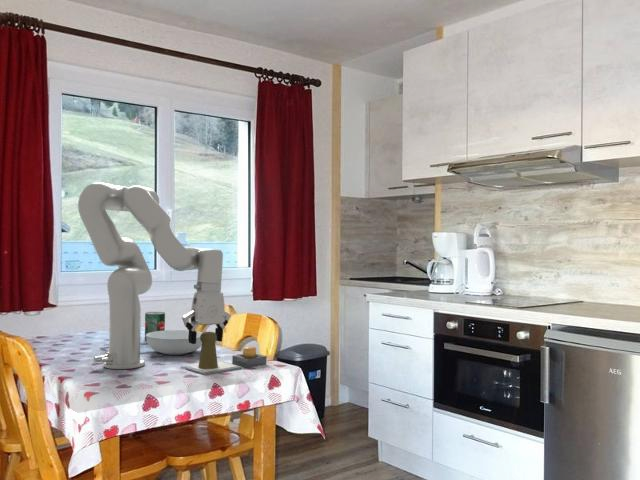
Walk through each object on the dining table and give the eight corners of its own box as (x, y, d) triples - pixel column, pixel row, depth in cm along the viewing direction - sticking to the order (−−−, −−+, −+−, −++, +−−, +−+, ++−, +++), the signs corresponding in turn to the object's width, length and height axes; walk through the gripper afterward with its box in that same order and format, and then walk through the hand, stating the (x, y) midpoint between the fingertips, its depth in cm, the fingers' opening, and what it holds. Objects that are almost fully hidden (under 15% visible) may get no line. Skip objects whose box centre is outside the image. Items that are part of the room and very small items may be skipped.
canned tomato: (143, 338, 242) (143, 312, 242) (162, 337, 245) (163, 311, 245) (146, 341, 235) (146, 314, 235) (166, 340, 238) (166, 313, 238)
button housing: (247, 367, 189) (247, 359, 189) (232, 363, 195) (232, 355, 195) (266, 364, 195) (266, 356, 195) (251, 360, 201) (251, 352, 201)
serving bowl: (190, 360, 201) (191, 339, 201) (134, 356, 205) (135, 337, 205) (213, 349, 221) (214, 331, 221) (162, 346, 225) (162, 328, 225)
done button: (248, 359, 192) (248, 349, 192) (240, 357, 195) (240, 347, 195) (258, 357, 195) (259, 348, 195) (250, 355, 198) (250, 346, 198)
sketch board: (204, 375, 178) (204, 372, 178) (185, 369, 186) (185, 366, 186) (242, 368, 188) (242, 365, 188) (222, 363, 196) (222, 360, 196)
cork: (220, 365, 188) (220, 330, 188) (214, 369, 182) (215, 333, 182) (201, 364, 189) (202, 330, 189) (195, 368, 183) (196, 333, 183)
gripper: (191, 289, 177) (188, 346, 177) (238, 288, 189) (234, 342, 189) (178, 287, 182) (175, 342, 182) (224, 286, 194) (221, 338, 194)
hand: (205, 342), depth 186 cm, fingers open, 9 cm apart
